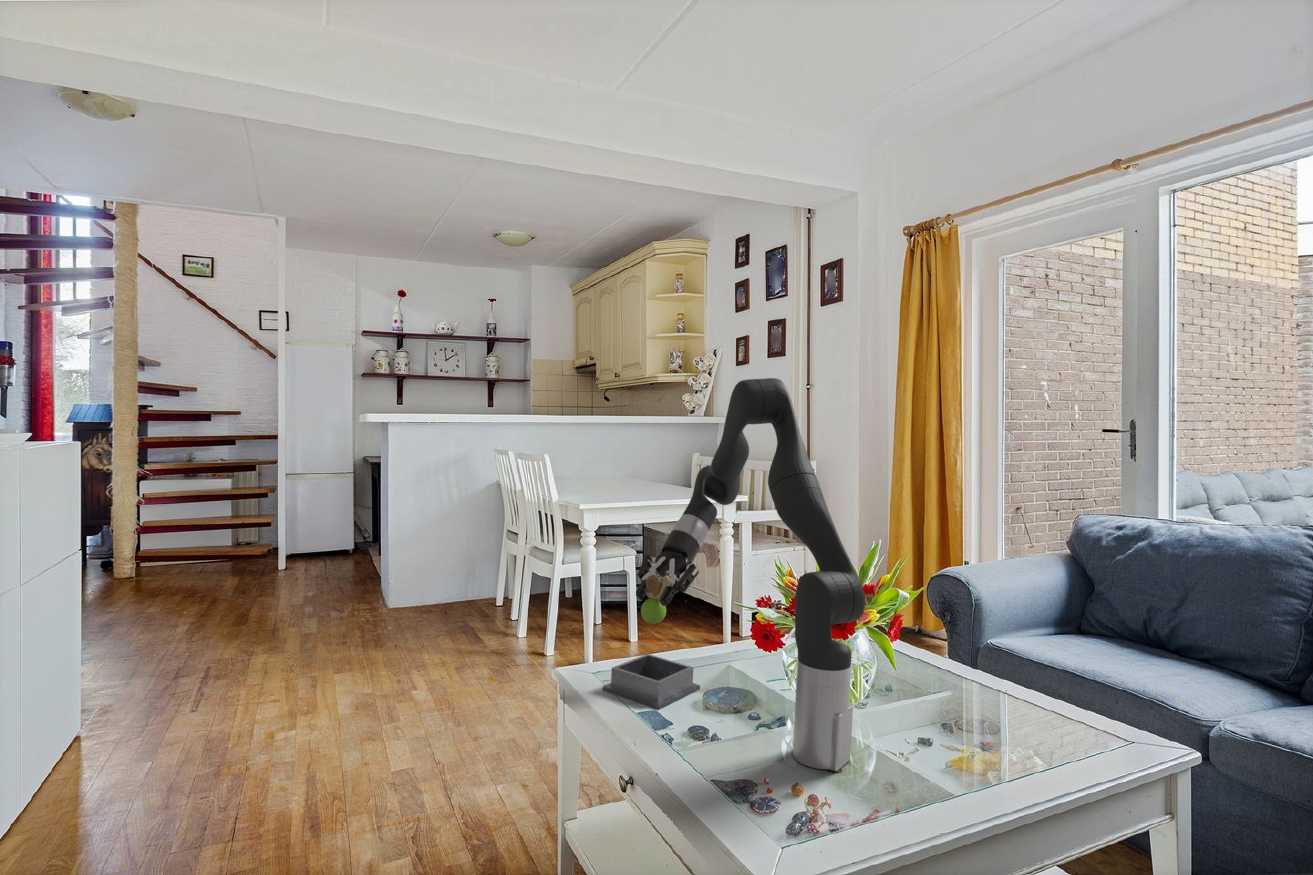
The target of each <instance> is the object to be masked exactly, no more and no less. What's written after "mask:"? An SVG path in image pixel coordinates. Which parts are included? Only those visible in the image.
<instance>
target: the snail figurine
mask: <svg viewBox="0 0 1313 875" xmlns="http://www.w3.org/2000/svg"><path fill="white" fill-rule="evenodd" d="M666 573H670V571H666ZM661 579H662V580H661ZM661 579H660V578H659V577H658V576H656V575H650V576H649V577H648V578H647V579H646V588H647V590H648V591H645V593H646V595H645V596H647V597H648V598H647V599H646V600H644V602H643V603H642V605H641V607H640V613H641V617H642V619H643V620H644V621H645V622H647V623H649V624H652V625H654V624H659V623H661V622H662V621H663V620H664V618H665V617H666V615H667V606H662V605H661V603H660V602H659V600H660V598H661V596H662V594H663V592H664V591H665V589H666V587H669V576H664V577H662V578H661ZM662 581H663V582H662Z"/></svg>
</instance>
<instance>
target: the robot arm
mask: <svg viewBox="0 0 1313 875" xmlns="http://www.w3.org/2000/svg"><path fill="white" fill-rule="evenodd" d="M762 424H766V425H767V424H771V425H772V426H773V429H774V431H775V432H774V433H775V435H776V436H775V437H776V450H775V452H774V455H773V458H772V462H771V463H770V467H769V472H768V477H767V486H768V490H769V493H770V495H771V499H772V502H773V504H774V505H773V506H774V508H775V511H776V513H777V514H778V517H779V518H780V519H781V521H782V522H783V523H784V525H785V526H786V527H787V528H788V529H789V530H790V531H791V532H792V533H793V534H794V535H795V536H796V537H797V538H798V540H800V541H801V542H802V543H803V544H804V545H805V546H806V548H807V549H808V550H809V551H810V553H811V554H812V556H813V558H814V560H815V562H816V564H817V566H818V568H819V571H809V572H806V573H804V574H802V575H801V577H800V578H799V579H798V582H797V585H796V589H795V595H794V596H795V597H794V629H795V630H794V637H795V638H794V639H795V645H796V648H797V664H796V666H797V667H796V681H795V682H796V683H795V684H796V685H795V686H796V687H795V703H794V720H793V740H792V756H793V758H794V759H795V760H796V761H797V762H799V764H802V765H804V766H807V767H810V768H814V769H819V770H831V771H833V772H838V771H839V770H840V769H842V768H843V767H844V766H845V765H846V764H847V763H848V762H849V761H851V754H852V753H851V750H852V731H853V714H854V711H853V710H854V707H853V706H852V705H850V692H851V691H850V690H851V689H850V688H851V671H852V658H853V657H852V655H853V654H852V650H851V648H850V647H849V646H848V645H847V644H845V643H843V642H841V641H838V640H835V639H833V637H832V635H833V634H832V625H840V624H846V623H853V622H856V621H858V620H860V619H861V618H862V616H863V614H864V612H865V610H866V596H865V591H864V588H863V584H862V583H861V582H862V581H861V579H860V577H859V576H858V573H857V571H856V568H855V567H854V565H853V563H852V561H851V559H850V557H849V555H848V553H847V551H846V548H845V547H844V545H843V542H842V540H841V538H840V536H839V533H838V531H837V529H836V526H835V524H834V523H835V522H834V521H833V519H832V517H831V514H830V511H829V509H828V506H827V503H826V501H825V497H824V494H823V490H822V488H821V486H820V483H819V480H818V477H817V475H816V472H815V471H814V468H813V466H812V463H811V461H810V458H809V455H808V452H807V449H806V447H805V444H804V440H803V438H802V435H801V432H800V428H799V424H798V420H797V416H796V413H795V409H794V404H793V401H792V398H791V395H790V392H789V390H788V387H787V386H786V384H785V382H784V381H783V380H782V379H781V378H780V379H779V378H776V377H775V378H773V377H771V378H770V377H767V378H749V379H743V380H740V381H738V382H737V383H736V384H735V386H734V387H733V390H732V392H731V395H730V399H729V404H728V407H727V413H726V416H725V422H724V424H723V425H724V427H723V431H722V436H721V439H720V442H719V445H718V446H717V450H716V451H715V454H714V456H713V457H712V460H711V463H710V464H711V465H706V466H705V465H704V466H703V467H702V468H701V469H700V470H698V473H697V474H696V477H695V478H696V479H695V482H694V487H693V490H692V491H693V492H692V494H691V498H690V500H689V503H688V504H687V506H686V508H685V509H684V511H683V513H682V514H681V517H680V518H679V519H678V520H677V521H676V523H675V524H674V525H673V527H672V529H671V531H670V532H669V535H668V536H667V538H666V539H665V541H664V542H663V544H662V548H661V551H660V553H659V554H658V555H657V556H656V557H654V556H650V554H646V555H645V556H644V558H643V560H642V562H641V565H640V567H639V570H638V571H637V574H636V576H637V578H638V579H639V580H640V581H641V582H640V583H639V585H638V587H637V588H636V590H635V597H636V598H637V599H638V600H639V601H643V600H644V599H645V597H646V596H647V595H646V593H645V591H648V590H647V588H646V579H647V578H648V577H649V576H650V575H656V576H658V577H659V578H660V579H663V577H664V576H669V581H668V586H667V587H666V589H665V591H664V592H663V594H662V596H661V598H660V600H659V602H660V603H661V605H662V606H665V607H667V606H668V605H669V604H670V603H671V602H672V599H673V598H674V596H675V594H676V593H678V592H681V593H685V592H686V591H687V590H688V588H689V587H690V586H691V585H692V583H693V582H694V580H695V579H696V578H697V576H698V575H699V573H700V572H699V569H698V568H697V566H696V565H695V564H694V563H693V562H694V560H695V558H696V557H697V555H698V553H699V552H700V549H701V548H702V546H703V544H704V542H705V540H706V538H707V535H708V533H709V531H710V529H711V527H712V525H713V524H714V522H715V520H716V518H717V516H718V510H717V507H716V506H715V504H713V502H712V501H714V502H716V503H718V504H719V505H722V506H727V505H730V504H732V503H733V502H734V501H735V500H736V499H737V497H738V495H739V492H740V488H741V487H740V486H741V472H742V471H743V468H744V467H745V465H746V463H747V461H748V459H749V454H750V446H749V442H748V440H747V438H746V436H745V433H744V432H743V431H744V429H745V428H746V427H747V426H748V425H762ZM710 500H712V501H710ZM666 571H670V573H666ZM656 572H657V573H656Z"/></svg>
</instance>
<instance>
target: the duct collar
mask: <svg viewBox="0 0 1313 875" xmlns="http://www.w3.org/2000/svg"><path fill="white" fill-rule="evenodd" d="M610 673H611V678H610V683H607V684H605V685H603V686H602V691H603V692H604V691H605V692H608V693H611V694H613V695H616V696H618V697H621V698H625V699H628V700H631V701H634V702H635V703H636V702H637V703H640V704H642V705H645V706H647V707H650V708H654V709H655V710H656V709H657V710H661V709H663V708H664V707H667V706H669V705H671V704H673V703H675V702H678V701H679V700H682V699H684V698H685V697H687V696H689V695H691V694H693V693H695V692H696V691H699V690H700V689H701V685H700V684H698V683H693V682H694V667H693V666H690V665H687V664H683V663H680V662H677V661H674V660H670V659H667V658H663V657H660V656H656V655H654V654H653V655H652V654H650V653H646V654H644V655H641V656H639V657H636V658H633V659H630V660H628V661H626V662H623V663H620V664H618V665H616V666H613V667H611V672H610Z"/></svg>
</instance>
